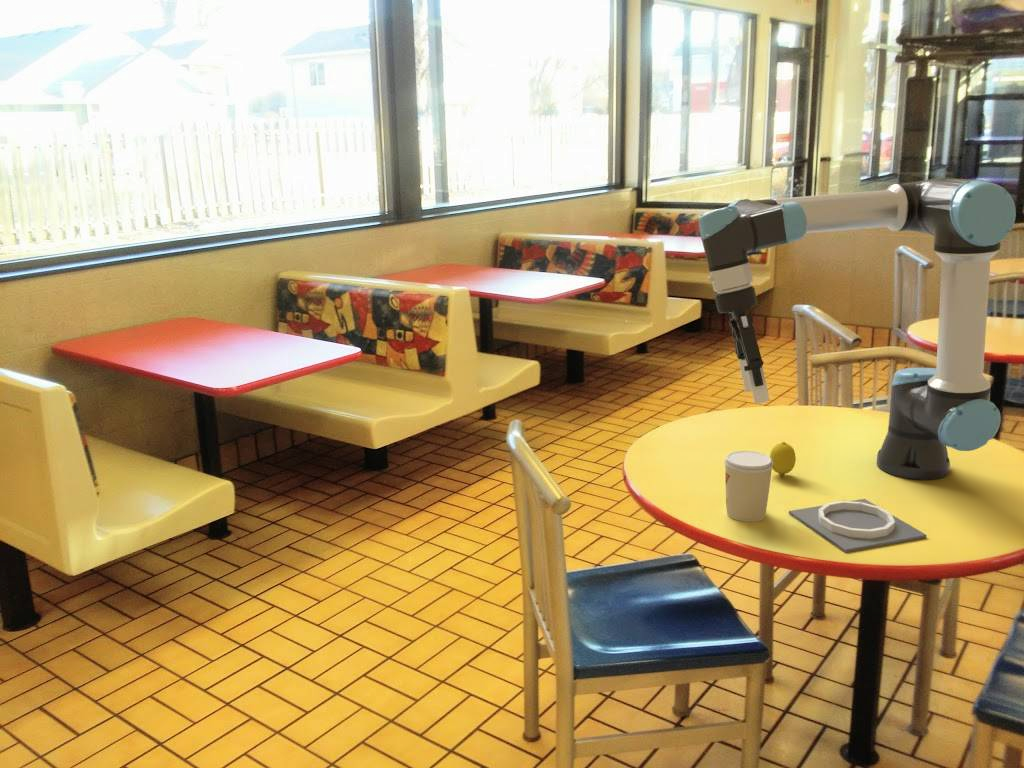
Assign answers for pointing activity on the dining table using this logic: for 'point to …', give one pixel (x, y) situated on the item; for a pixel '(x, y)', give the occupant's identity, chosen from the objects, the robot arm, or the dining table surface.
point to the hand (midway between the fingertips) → (757, 396)
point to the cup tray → (856, 525)
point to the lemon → (783, 458)
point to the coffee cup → (747, 485)
